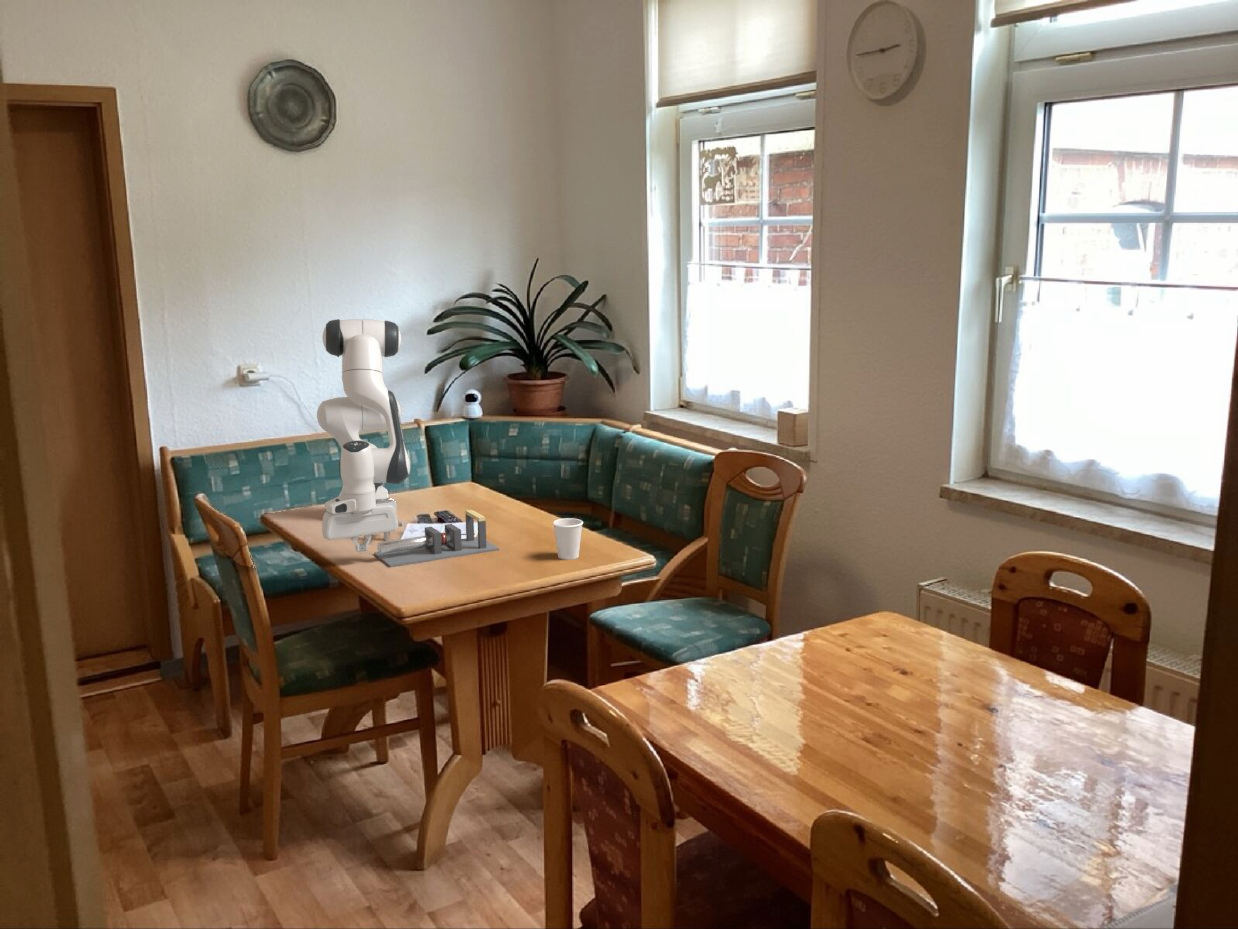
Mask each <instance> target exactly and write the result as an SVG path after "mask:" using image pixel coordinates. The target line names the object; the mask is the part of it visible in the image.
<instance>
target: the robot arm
mask: <svg viewBox="0 0 1238 929" xmlns="http://www.w3.org/2000/svg"><path fill="white" fill-rule="evenodd" d="M321 338H322V343H323V346H324V348H325V351H326V352H327V353H328V354H329V355H331V356H335V357H337V358H340V356H341V357H342V358H341V381H342V386H343V388H342V389H343V392H344V393H345V395H346V396H341V397H334V398H329V399H327V400H323V401H322V402H320V404H319V405H318V408H317V410H316V419H317V423H318V425H319V426H320V428H321V429H322V430H323V431H324V432H326V433H328V434H329V435H330V436H331V437H332V438H334V439H335V440H336V442H337V443H338V445H339V447H340V450H341V451H340V457H339V461H338V467H339V468H338V469H339V471H338V472H339V477H340V478H341V480H342V489H341V491H340V493H339V494H338V496H336V497H334V498H332V499H329V500H328V501H326V502H325V503H324V509H325V510H326V511H325V512H324V513H323V516H322V522H321V524H322V525H321V534H322V537H323V538H324V539H325V540H327V541H333V540H334V541H335V540H342V539H348V538H350V540H351V541H352V542H353V544H354V545H355V551H356V552H357V553H360V552H367V551H368V550H369V544H370V541H371V540H372V535H378V534H384V533H385V532H390V533H392V532H396V531H397V529H398V528H399V526H398V516H397V511H398V503H397V501H396V500H395V499H393V498H391V497H389V492H388V489H387V488H386V487H384V485H383V484H393V485H394V484H396V485H399V484H401V483H403V482H404V481H405V480H406V479H407V478H408V477H409V476H410V473H411V460H410V457H409V454H408V452H407V448H406V444H405V439H404V433H403V427H402V421H401V418H402V407H401V405H400V403H399V401H398V400H397V399H396V396H395V393H394V392H393V391H391V390H389V389H388V388H387V385H386V384H385V381H384V367H383V357H384V358H388V357H389V358H390V357H394V356H395V355H396V354H398V352H399V350H400V347H401V344H402V335H401V331H400V328H399V326H398V324H397V323H395V321H390V320H384V321H383V320H379V319H378V320H377V319H370V318H369V319H368V318H363V319H362V318H361V319H359V318H358V319H355V318H354V319H353V318H352V319H342V320H341V319H331V320H328V322H327V323H326V324H325V327H324V328H323V331H322V337H321ZM382 430H387V436H388V441H389V446H388V447H382V448H381V447H380V448H378V447H377V446H376V444H373V443H371V442H369V441H366V440H364V439H362V438H361V437H360V434H359V433H361V432H368V431H369V432H370V431H382ZM361 536H363V537H364V538H365V540H364V541H363V543H359V542H358V540H359V537H361Z"/></svg>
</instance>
